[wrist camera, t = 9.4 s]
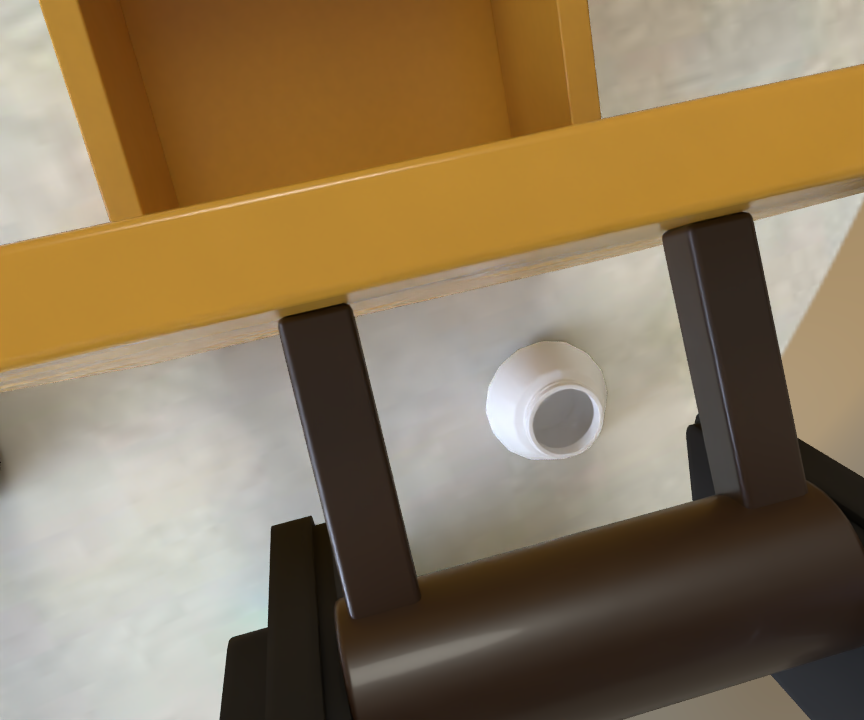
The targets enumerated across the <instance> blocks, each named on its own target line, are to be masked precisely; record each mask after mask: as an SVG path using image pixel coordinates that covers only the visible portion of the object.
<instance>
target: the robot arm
mask: <svg viewBox="0 0 864 720" xmlns="http://www.w3.org/2000/svg"><path fill="white" fill-rule="evenodd" d="M797 439H798V444H799V449H800V454H801V459H802V463H803V468H804V473H805V478H806V480H807V481H809V482H811V483H813V484H814V485H816V486H817V487H819V488H820V489H821V490H823V491H824V492H825V493H826V494H827V495H828V496H829V497H830V498H831V499H832V500H833V501H834V502H835V503H836V504H837V506H838V507H839V508H840V509H841V511H842V512H843V513H844V515H845V516H846V517H847V519H848V520H849V522H850V523H851V525H852V526H853V528H854V530H855V532H856V534H857V535H858V537H859V539H860V541H861V543H862V545H863V547H864V478H863V477H862V476H860V475H858V474H857V473H855V472H853V471H852V470H850V469H848V468H847V467H845V466H843V465H842V464H840V463H838V462H837V461H835V460H833V459H832V458H830V457H828V456H827V455H825V454H823V453H822V452H820V451H818V450H817V449H815V448H813V447H812V446H810V445H809V444H807V443H805V442H804V441H802V440H800V439H799V438H797ZM686 440H687V450H688V460H689V470H690V480H691V490H692V500H693V501H695V500H699V499H703V498H706V497H710V496H714V495H716V493H715V489H714V484H713V479H712V474H711V470H710V465H709V460H708V455H707V451H706V446H705V441H704V436H703V432H702V427H701V422H700V418H699V413H698V415H697V416H696V420H695V424H693V425H689V426H688V428H687V431H686ZM342 597H344V594H343V590H342V586H341V582H340V578H339V574H338V570H337V566H336V562H335V558H334V554H333V550H332V546H331V541H330V537H329V533H328V529H327V525H326V523H322V524H319V525H315V524H314V521H313V518H312V516H308V517H304V518H301V519H297V520H293V521H289V522H286V523H282V524H278V525H274V526H271V544H270V575H269V605H268V627H267V628H264V629H260V630H256V631H253V632H249V633H246V634H242V635H239V636H235V637H232V638H231V639H230V640H229V643H228V648H227V656H226V665H225V674H224V684H223V693H222V702H221V711H220V720H352V716H351V712H350V707H349V703H348V699H347V694H346V689H345V685H344V679H343V674H342V669H341V663H340V658H339V652H338V646H337V639H336V632H335V623H334V606H335V602H336V601H337V600H338V599H339V598H342ZM771 676H772V677H773V678H774V679H775V680H776V681H777V682H778V683H779V685H780V686H781V687H782V688H783V689H784V690H785V691H786V692H787V693H788V695H789V696H790V697H791V698H792V699H793V700H794V701H795V702H796V704H797V705H798V706H799V707H800V708H801V709H802V710H803V712H805V714H806V715H807V716H808V717H809V718H810V719H811V720H864V645H863V646H861V647H858V648H856V649H852V650H849V651H846V652H843V653H839V654H836V655H833V656H830V657H826V658H823V659H820V660H816V661H813V662H810V663H807V664H803V665H800V666H797V667H793V668H790V669H787V670H784V671H780V672H777V673H774V674H771Z"/></svg>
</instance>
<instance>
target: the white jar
mask: <svg viewBox="0 0 864 720" xmlns="http://www.w3.org/2000/svg"><path fill="white" fill-rule="evenodd" d="M606 400H607V389H606V385H605V381H604V377H603V373H602V371H601V369H600V368H599V367H598V366H597V364H596V363H595V362H594V361H593V359H592V358H591V357H590V356H589V354H587V353H586V352H584V351H582V350H580V349H578V348H576V347H574V346H572V345H570V344H568V343H566V342H553V341H540V342H538V343H535V344H532V345H529V346H527V347H524V348H521V349H518V350H517V351H516V352H515V353H514V354H513V355H512V356H510V357H509V358H508V359H507V360H506V361H505V362H503V363H502V364H501V365H500V366H499V368H498V370H497V372H496V374H495V375H494V377H493V379H492V381H491V383H490V385H489V387H488V394H487V403H486V413H487V416H488V419H489V423H490V426H491V429H492V432H493V433H494V435H495V436H496V437H497V438H498V439H499V440H500V441H501V442H502V444H503V445H504V446H505V447H506V448H507V449H508V450H509V451H511V452H513V453H515V454H518V455H520V456H522V457H525V458H527V459H529V460H555V459H563V458H570V457H573V456H576V455H579V454H581V453H583V452H584V451H586V450H587V449H588V448H589V447H590V446H592V444H593V443H594V442H595V441H596V440H597V438H598V436H599V434H600V432H601V430H602V427H603V422H604V414H605V407H606Z"/></svg>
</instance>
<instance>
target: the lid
mask: <svg viewBox="0 0 864 720" xmlns="http://www.w3.org/2000/svg"><path fill="white" fill-rule="evenodd" d="M862 192H864V64H860V65H856V66H851V67H846V68H841V69H837V70H832V71H827V72H822V73H817V74H813V75H808V76H803V77H798V78H794V79H789V80H784V81H779V82H775V83H770V84H765V85H760V86H756V87H751V88H746V89H741V90H737V91H732V92H727V93H722V94H718V95H713V96H708V97H703V98H699V99H694V100H689V101H684V102H680V103H675V104H670V105H665V106H661V107H656V108H651V109H646V110H642V111H637V112H632V113H627V114H622V115H618V116H613V117H608V118H603V119H599V120H594V121H589V122H584V123H580V124H575V125H570V126H565V127H561V128H556V129H551V130H546V131H542V132H537V133H532V134H527V135H523V136H518V137H513V138H508V139H504V140H499V141H494V142H489V143H485V144H480V145H475V146H470V147H466V148H461V149H456V150H451V151H447V152H442V153H437V154H432V155H427V156H423V157H418V158H413V159H408V160H404V161H399V162H394V163H389V164H385V165H380V166H375V167H370V168H366V169H361V170H356V171H351V172H347V173H342V174H337V175H332V176H328V177H323V178H318V179H313V180H309V181H304V182H299V183H294V184H290V185H285V186H280V187H275V188H271V189H266V190H261V191H256V192H251V193H247V194H242V195H237V196H232V197H228V198H223V199H218V200H213V201H209V202H204V203H199V204H194V205H190V206H185V207H180V208H175V209H171V210H166V211H161V212H156V213H152V214H147V215H142V216H137V217H133V218H128V219H123V220H118V221H114V222H109V223H104V224H99V225H95V226H90V227H85V228H80V229H76V230H71V231H66V232H61V233H56V234H52V235H47V236H42V237H37V238H33V239H28V240H23V241H18V242H14V243H9V244H4V245H0V393H1V392H6V391H12V390H17V389H22V388H28V387H33V386H38V385H44V384H49V383H54V382H60V381H65V380H70V379H76V378H81V377H86V376H92V375H97V374H103V373H108V372H113V371H119V370H124V369H129V368H135V367H140V366H145V365H151V364H155V363H160V362H164V361H168V360H173V359H177V358H181V357H186V356H190V355H194V354H198V353H203V352H207V351H211V350H216V349H220V348H224V347H229V346H233V345H237V344H242V343H246V342H250V341H254V340H259V339H263V338H267V337H272V336H276V335H280V339H281V343H282V347H283V351H284V355H285V359H286V363H287V367H288V371H289V375H290V379H291V383H292V387H293V391H294V395H295V399H296V404H297V408H298V412H299V416H300V420H301V424H302V428H303V432H304V436H305V440H306V444H307V448H308V452H309V456H310V460H311V464H312V468H313V472H314V477H315V481H316V485H317V489H318V493H319V497H320V501H321V505H322V509H323V513H324V517H325V521H326V525H327V529H328V533H329V537H330V541H331V546H332V550H333V554H334V558H335V562H336V566H337V570H338V574H339V578H340V582H341V586H342V590H343V594H344V597H342V598H339V599H338V600H337V601H336V602H335V606H334V623H335V632H336V639H337V646H338V652H339V658H340V663H341V669H342V674H343V679H344V685H345V689H346V694H347V699H348V703H349V707H350V712H351V716H352V720H623V719H626V718H630V717H633V716H636V715H639V714H643V713H646V712H649V711H653V710H656V709H659V708H662V707H666V706H669V705H672V704H676V703H679V702H682V701H685V700H689V699H692V698H695V697H698V696H702V695H705V694H708V693H712V692H715V691H718V690H721V689H724V688H728V687H731V686H735V685H738V684H741V683H744V682H747V681H751V680H754V679H757V678H761V677H764V676H767V675H771V674H774V673H777V672H780V671H784V670H787V669H790V668H793V667H797V666H800V665H803V664H807V663H810V662H813V661H816V660H820V659H823V658H826V657H830V656H833V655H836V654H839V653H843V652H846V651H849V650H852V649H856V648H858V647H861V646H863V645H864V547H863V545H862V543H861V541H860V539H859V537H858V535H857V534H856V532H855V530H854V528H853V526H852V525H851V523H850V522H849V520H848V519H847V517H846V516H845V515H844V513H843V512H842V511H841V509H840V508H839V507H838V506H837V504H836V503H835V502H834V501H833V500H832V499H831V498H830V497H829V496H828V495H827V494H826V493H825V492H824V491H823V490H821V489H820V488H819V487H817V486H816V485H814V484H813V483H811V482H809V481H807V480H806V478H805V473H804V468H803V463H802V459H801V454H800V449H799V444H798V439H797V434H796V429H795V424H794V419H793V414H792V409H791V405H790V399H789V395H788V389H787V385H786V380H785V375H784V370H783V365H782V360H781V355H780V350H779V345H778V340H777V335H776V330H775V325H774V320H773V315H772V311H771V306H770V301H769V296H768V291H767V286H766V281H765V276H764V271H763V266H762V261H761V256H760V251H759V246H758V242H757V237H756V232H755V227H754V222H753V221H755V220H759V219H763V218H766V217H770V216H774V215H778V214H782V213H786V212H789V211H793V210H797V209H801V208H805V207H809V206H812V205H816V204H820V203H824V202H828V201H832V200H835V199H839V198H843V197H847V196H851V195H855V194H859V193H862ZM659 245H663V247H664V252H665V256H666V261H667V266H668V271H669V275H670V280H671V285H672V290H673V294H674V299H675V304H676V309H677V313H678V318H679V323H680V328H681V332H682V337H683V342H684V346H685V351H686V356H687V361H688V365H689V370H690V375H691V380H692V384H693V389H694V394H695V399H696V403H697V408H698V413H699V418H700V422H701V427H702V432H703V436H704V441H705V446H706V451H707V455H708V460H709V465H710V470H711V474H712V479H713V484H714V489H715V493H716V495H714V496H710V497H706V498H703V499H699V500H695V501H692V502H688V503H685V504H681V505H677V506H674V507H670V508H666V509H663V510H659V511H655V512H652V513H648V514H644V515H641V516H637V517H633V518H630V519H626V520H623V521H619V522H615V523H612V524H608V525H604V526H601V527H597V528H593V529H590V530H586V531H582V532H579V533H575V534H571V535H568V536H564V537H561V538H557V539H553V540H550V541H546V542H542V543H539V544H535V545H531V546H528V547H524V548H520V549H517V550H513V551H509V552H506V553H502V554H498V555H495V556H491V557H488V558H484V559H480V560H477V561H473V562H469V563H466V564H462V565H458V566H455V567H451V568H447V569H444V570H440V571H436V572H433V573H429V574H426V575H422V576H418V577H417V576H416V571H415V567H414V563H413V559H412V555H411V550H410V546H409V542H408V538H407V534H406V530H405V525H404V521H403V517H402V513H401V509H400V505H399V500H398V496H397V492H396V488H395V484H394V480H393V475H392V471H391V467H390V463H389V459H388V454H387V450H386V446H385V442H384V438H383V434H382V429H381V425H380V421H379V417H378V413H377V409H376V404H375V400H374V396H373V392H372V388H371V383H370V379H369V375H368V371H367V367H366V363H365V358H364V354H363V350H362V346H361V342H360V338H359V333H358V329H357V325H356V321H355V317H358V316H362V315H366V314H371V313H375V312H379V311H384V310H388V309H392V308H396V307H401V306H405V305H409V304H414V303H418V302H422V301H427V300H431V299H435V298H439V297H444V296H448V295H452V294H457V293H461V292H465V291H470V290H474V289H478V288H483V287H487V286H491V285H495V284H500V283H504V282H508V281H513V280H517V279H521V278H526V277H530V276H534V275H538V274H543V273H547V272H551V271H556V270H560V269H564V268H569V267H573V266H577V265H582V264H586V263H590V262H594V261H599V260H603V259H607V258H612V257H616V256H620V255H624V254H628V253H632V252H636V251H640V250H644V249H647V248H651V247H655V246H659Z"/></svg>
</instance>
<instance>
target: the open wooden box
mask: <svg viewBox="0 0 864 720" xmlns="http://www.w3.org/2000/svg"><path fill="white" fill-rule="evenodd" d="M39 3H40V6H41V9H42V12H43V16H44V19H45V22H46V25H47V28H48V31H49V34H50V37H51V40H52V43H53V47H54V50H55V53H56V56H57V59H58V62H59V65H60V68H61V71H62V74H63V78H64V81H65V84H66V87H67V90H68V93H69V96H70V99H71V102H72V105H73V108H74V112H75V115H76V118H77V121H78V124H79V127H80V130H81V133H82V136H83V139H84V143H85V146H86V149H87V152H88V155H89V158H90V161H91V164H92V167H93V170H94V174H95V177H96V180H97V183H98V186H99V189H100V192H101V195H102V198H103V201H104V204H105V208H106V211H107V214H108V217H109V220H110V222H114V221H118V220H123V219H128V218H133V217H137V216H142V215H147V214H152V213H156V212H161V211H166V210H171V209H175V208H180V207H185V206H190V205H194V204H199V203H204V202H209V201H213V200H218V199H223V198H228V197H232V196H237V195H242V194H247V193H251V192H256V191H261V190H266V189H271V188H275V187H280V186H285V185H290V184H294V183H299V182H304V181H309V180H313V179H318V178H323V177H328V176H332V175H337V174H342V173H347V172H351V171H356V170H361V169H366V168H370V167H375V166H380V165H385V164H389V163H394V162H399V161H404V160H408V159H413V158H418V157H423V156H427V155H432V154H437V153H442V152H447V151H451V150H456V149H461V148H466V147H470V146H475V145H480V144H485V143H489V142H494V141H499V140H504V139H508V138H513V137H518V136H523V135H527V134H532V133H537V132H542V131H546V130H551V129H556V128H561V127H565V126H570V125H575V124H580V123H584V122H589V121H594V120H599V119H601V113H600V104H599V96H598V87H597V78H596V70H595V61H594V52H593V44H592V35H591V26H590V18H589V9H588V0H39Z"/></svg>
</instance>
